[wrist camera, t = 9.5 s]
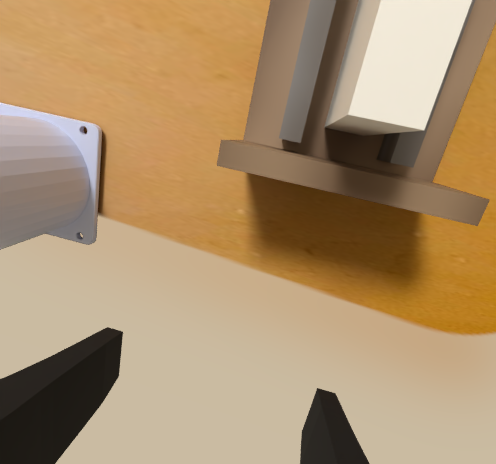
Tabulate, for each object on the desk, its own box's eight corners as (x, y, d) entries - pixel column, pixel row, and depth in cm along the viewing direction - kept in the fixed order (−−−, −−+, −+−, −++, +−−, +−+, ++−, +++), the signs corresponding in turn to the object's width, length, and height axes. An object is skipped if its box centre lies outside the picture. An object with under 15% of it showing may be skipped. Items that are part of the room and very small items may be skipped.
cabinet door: (324, 127, 16) (348, 114, 8) (368, -36, 14) (456, -259, 6) (385, 140, 15) (468, 139, 8) (439, -25, 13) (625, -243, 6)
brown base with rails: (244, 157, 18) (216, 165, 12) (294, -96, 15) (291, -269, 8) (414, 196, 17) (477, 226, 11) (513, -63, 14) (688, -230, 8)
